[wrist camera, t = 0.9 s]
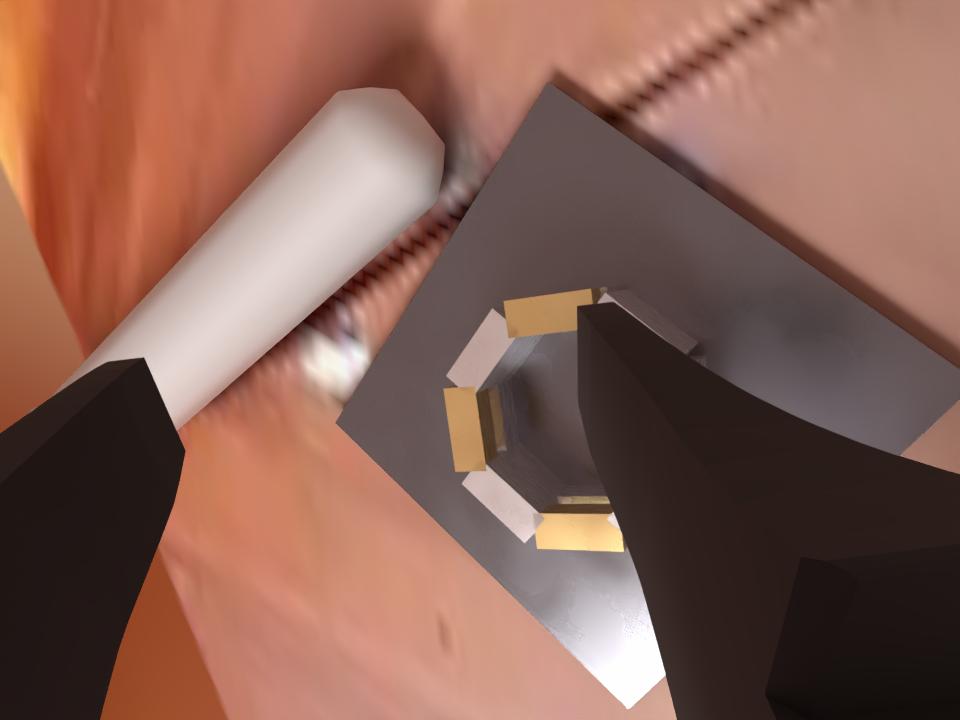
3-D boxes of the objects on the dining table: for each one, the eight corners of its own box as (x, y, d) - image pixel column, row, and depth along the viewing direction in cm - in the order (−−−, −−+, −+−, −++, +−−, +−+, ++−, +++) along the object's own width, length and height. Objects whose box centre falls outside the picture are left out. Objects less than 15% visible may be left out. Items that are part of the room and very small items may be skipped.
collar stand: (973, 378, 20) (1006, 401, 16) (632, 700, 25) (607, 763, 22) (554, 86, 24) (514, 58, 21) (344, 419, 30) (287, 438, 26)
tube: (345, 26, 23) (11, 400, 33) (395, 137, 21) (21, 500, 31) (442, 99, 27) (119, 410, 38) (492, 197, 25) (135, 498, 35)
